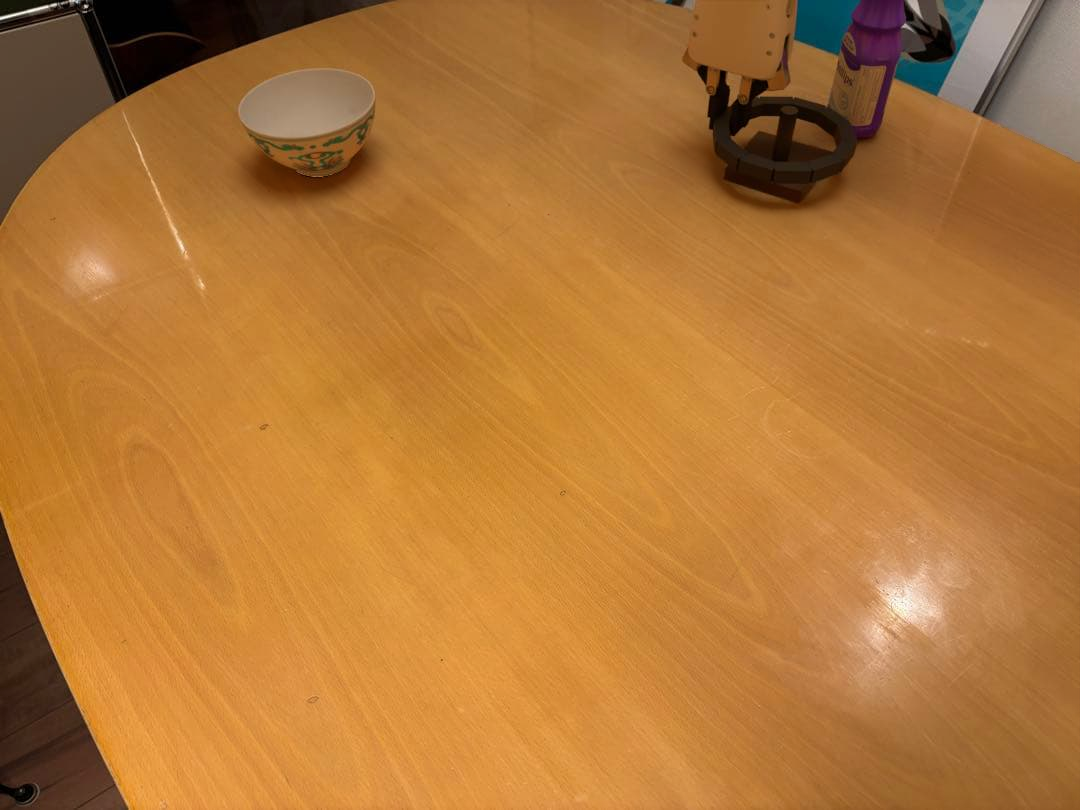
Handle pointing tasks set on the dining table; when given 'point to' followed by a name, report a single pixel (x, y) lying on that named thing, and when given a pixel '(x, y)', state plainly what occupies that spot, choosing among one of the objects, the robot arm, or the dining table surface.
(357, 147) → the chinaware
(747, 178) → the brown peg stand
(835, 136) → the ring
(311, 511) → the dining table surface
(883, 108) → the bottle
